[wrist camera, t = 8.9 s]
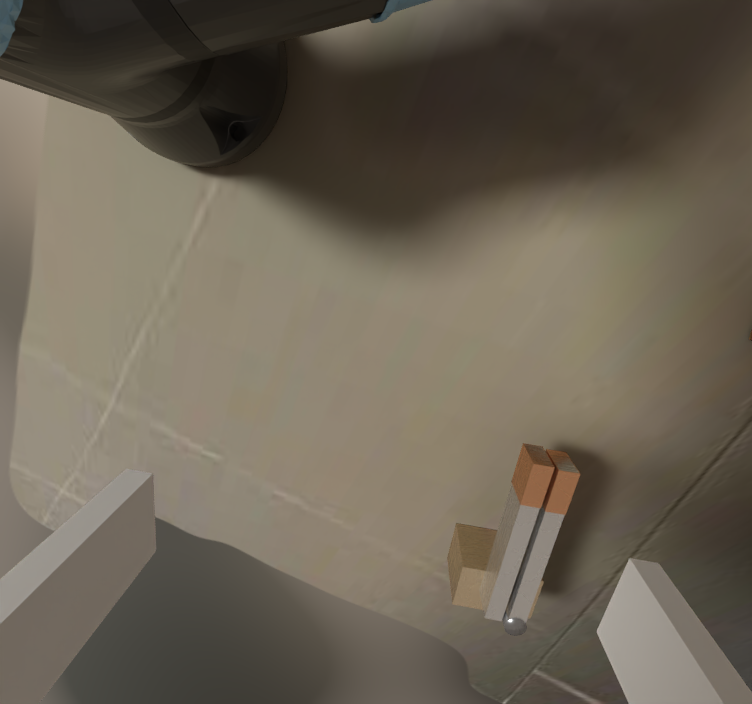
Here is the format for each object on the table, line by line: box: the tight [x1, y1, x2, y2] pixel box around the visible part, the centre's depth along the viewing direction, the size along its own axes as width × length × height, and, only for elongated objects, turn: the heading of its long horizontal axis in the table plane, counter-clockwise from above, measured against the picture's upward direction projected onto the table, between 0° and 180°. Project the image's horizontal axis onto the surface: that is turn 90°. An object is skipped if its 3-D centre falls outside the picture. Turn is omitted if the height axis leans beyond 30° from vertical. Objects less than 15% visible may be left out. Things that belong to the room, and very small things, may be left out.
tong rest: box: [447, 443, 555, 621], centre depth 39 cm, size 20×8×9 cm, turn 172°
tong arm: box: [502, 449, 580, 636], centre depth 36 cm, size 18×2×3 cm, turn 172°
